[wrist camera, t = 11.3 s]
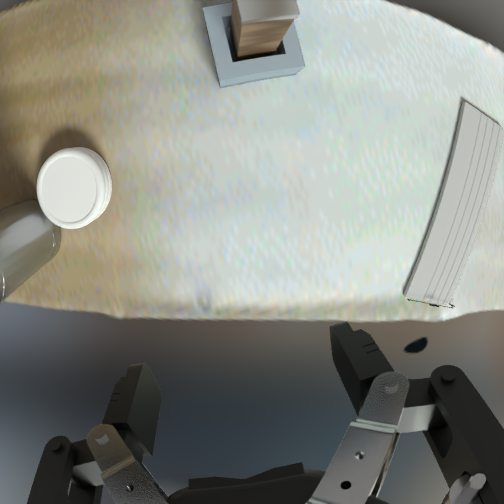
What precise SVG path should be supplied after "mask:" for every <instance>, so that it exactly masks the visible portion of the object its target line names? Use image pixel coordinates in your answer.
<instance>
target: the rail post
mask: <svg viewBox="0 0 504 504" xmlns="http://www.w3.org/2000/svg"><path fill="white" fill-rule="evenodd" d="M299 14H300V13H299V9H298V5H297V2H296V0H232V7H231V33H230V34H231V38H232V43H233V48H234V52H235V57H236V62H238V61H243V60H249V59H255V58H261V57H267V56H273V54H274V53H275V51H276V49H277V47H278V46H279V44H280V42H281V41H282V39H283V37H284V36H285V34H286V32H287V31H288V29H289V27H290V26H291V24H292V22H293V21H294V19H296V18H298V16H299Z"/></svg>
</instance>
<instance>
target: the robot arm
mask: <svg viewBox="0 0 504 504" xmlns="http://www.w3.org/2000/svg"><path fill="white" fill-rule="evenodd" d="M60 242H61V232H60V226H58V225H56V224H54V223H53V222H51V221H50V220H49V219H48V218H47V216H46V215H45V214H44V212H43V211H42V209H41V207H40V204H39V201H36V200H28V201H25V202H22V203H20V204H18V205H15V204H13V205H11V206H9V207H6V208H4V209H2V210H0V304H1V303H2V302H3V301H4V300H5V299H6V298H7V297H8V296H9V295H10V294H12V293H13V292H14V291H15V290H16V289H17V288H18V287H19V286H20V285H22V284H23V283H24V282H25V281H26V280H27V279H28V278H30V277H31V276H32V275H33V274H34V273H35V272H37V271H38V270H39V269H40V268H41V267H43V266H44V265H45V264H46V263H47V262H49V261H50V260H51V259H52V258H53V257H54V256H55V255H56V253H57V252H58V249H59V247H60ZM330 339H331V350H332V357H333V362H334V365H335V367H336V369H337V372H338V374H339V376H340V378H341V381H342V383H343V385H344V387H345V389H346V392H347V394H348V396H349V398H350V401H351V403H352V405H353V407H354V409H355V412H356V414H357V416H358V418H357V420H356V421H352V422H351V424H350V426H349V428H348V429H347V432H346V434H345V436H344V438H343V440H342V442H341V444H340V446H339V448H338V450H337V452H336V454H335V456H334V458H333V459H332V461H331V463H330V465H329V467H328V469H327V471H321V470H313V469H303V465H302V462H301V463H296V464H292V465H287V466H282V467H277V468H273V469H271V470H268V471H265V472H263V473H260V474H258V475H255V476H253V477H250V478H247V479H234V478H223V477H208V478H196V479H189V487H186V488H183V489H180V490H178V491H177V492H175V493H173V494H172V495H170V496H168V495H167V494H166V493H165V492H164V490H163V489H162V488H161V487H160V486H159V484H158V483H157V482H156V480H155V479H154V478H153V477H152V475H151V474H150V473H149V471H148V470H147V469H146V467H145V466H144V465H143V464H142V459H143V457H152V456H153V450H154V443H155V437H156V430H157V424H158V419H159V412H160V407H161V402H162V395H161V390H160V387H159V385H158V384H157V382H156V380H155V378H154V376H153V374H152V372H151V370H150V368H149V366H148V364H147V363H142V364H134V365H130V366H129V368H128V371H127V374H126V377H121V379H120V380H119V381H118V382H117V383H116V385H115V387H114V390H113V393H112V395H111V398H110V402H109V404H108V407H107V410H106V413H105V416H104V419H103V422H102V424H101V425H98V426H96V427H94V428H93V429H92V430H91V431H90V432H89V434H88V436H87V439H85V440H81V441H78V442H74V443H71V442H70V440H69V439H68V438H67V437H65V436H57V437H54V438H52V439H51V440H50V441H49V442H48V443H47V444H46V446H45V448H44V451H43V454H42V457H41V460H40V463H39V466H38V469H37V472H36V475H35V478H34V482H33V485H32V488H31V491H30V495H29V498H28V502H27V504H100V503H101V496H102V489H103V484H105V486H106V487H107V489H108V491H109V493H110V494H111V496H112V498H113V500H114V501H115V503H116V504H389V503H387V502H385V501H383V500H380V499H379V498H377V496H378V494H379V491H380V489H381V486H382V484H383V482H384V478H385V476H386V473H387V470H388V467H389V464H390V461H391V459H392V456H393V453H394V450H395V448H396V445H397V442H398V439H399V436H400V433H403V432H413V431H421V430H422V431H423V433H424V435H425V437H426V439H427V441H428V444H429V446H430V447H431V450H432V452H433V454H434V456H435V458H436V460H437V462H438V464H439V467H440V469H441V471H442V473H443V475H444V478H445V480H446V482H447V484H448V487H449V491H448V493H447V494H446V495H445V497H444V499H443V500H442V503H441V504H504V429H503V428H502V426H501V425H500V423H499V422H498V420H497V419H496V417H495V416H494V414H493V413H492V411H491V410H490V408H489V407H488V406H487V404H486V403H485V401H484V400H483V398H482V397H481V396H480V394H479V393H478V392H477V390H476V389H475V387H474V386H473V385H472V383H471V382H470V380H469V379H468V378H467V376H466V375H465V374H464V372H463V371H462V370H461V369H460V368H458V367H455V366H452V365H444V366H440V367H438V368H436V369H435V370H434V371H433V372H432V374H431V377H430V378H424V379H414V380H413V379H408V378H407V377H406V376H404V375H403V374H401V373H399V372H395V371H394V370H393V368H392V367H391V365H390V364H389V362H388V361H387V359H386V358H385V356H384V355H383V353H382V352H381V350H379V347H378V346H377V344H375V341H374V340H373V338H372V337H371V335H370V334H368V333H367V332H365V331H363V330H361V329H360V330H357V331H353V330H352V328H351V327H350V325H349V324H348V322H347V321H346V322H342V323H339V324H335V325H332V326H330ZM70 480H71V481H72V484H71V488H70V492H69V497H68V494H67V493H68V487H69V483H70Z"/></svg>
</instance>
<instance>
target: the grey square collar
mask: <svg viewBox="0 0 504 504" xmlns="http://www.w3.org/2000/svg"><path fill="white" fill-rule="evenodd" d="M231 7H232V2H229V3H224V4H219V5H213V6H209V7H204V8H203V12H204V17H205V22H206V27H207V31H208V35H209V40H210V44H211V48H212V53H213V57H214V62H215V66H216V70H217V75H218V79H219V83H220V88H224V87H228V86H233V85H238V84H243V83H248V82H254V81H259V80H265V79H271V78H277V77H284V76H291V75H296V74H297V73H298V72H299V71H301V70H302V69H303V68H304V67H305V63H304V59H303V55H302V51H301V47H300V43H299V39H298V36H297V32H296V28H295V24H294V21H293V22H292V24H291V26H290V27H289V29H288V31H287V32H286V34H285V36H284V37H283V39H282V41H281V42H280V44H279V46H278V47H277V49H276V51H275V53H274V54H273V56H267V57H261V58H255V59H249V60H243V61H238V62H236V57H235V52H234V48H233V43H232V38H231V34H230V33H231Z"/></svg>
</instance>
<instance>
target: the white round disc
mask: <svg viewBox="0 0 504 504" xmlns="http://www.w3.org/2000/svg"><path fill="white" fill-rule="evenodd" d="M111 193H112V180H111V175H110V171H109V169H108V167H107V164H106V163H105V161H104V160H103V159H102V158H101V157H100V156H99V155H98V154H97V153H96V152H94V151H93V150H90V149H88V148H84V147H73V148H66V149H62V150H59V151H57V152H55V153H54V154H52V155H51V156H50V157H49V158H48V159H47V160H46V161H45V163H44V164H43V166H42V167H41V169H40V172H39V175H38V178H37V197H38V201H39V204H40V207H41V209H42V211H43V212H44V214H45V215H46V216H47V218H48V219H49V220H50V221H51V222H53V223H54V224H56V225H58V226H60V227H62V228H67V229H76V228H81V227H83V226H86V225H87V224H89V223H91V222H92V221H93V220H95V219H96V218H98V217H99V216H100V215H101V214H102V213H103V212H104V210H105V209H106V207H107V205H108V203H109V200H110V197H111Z"/></svg>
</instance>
